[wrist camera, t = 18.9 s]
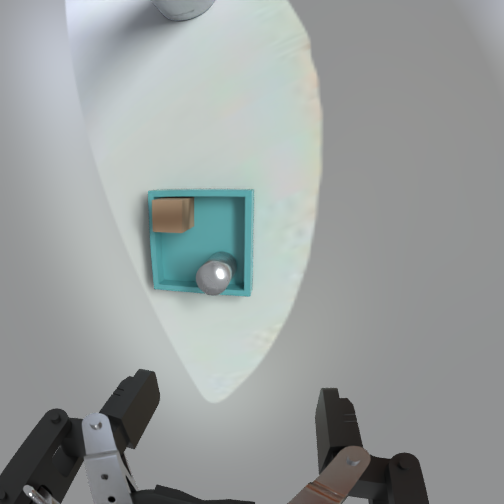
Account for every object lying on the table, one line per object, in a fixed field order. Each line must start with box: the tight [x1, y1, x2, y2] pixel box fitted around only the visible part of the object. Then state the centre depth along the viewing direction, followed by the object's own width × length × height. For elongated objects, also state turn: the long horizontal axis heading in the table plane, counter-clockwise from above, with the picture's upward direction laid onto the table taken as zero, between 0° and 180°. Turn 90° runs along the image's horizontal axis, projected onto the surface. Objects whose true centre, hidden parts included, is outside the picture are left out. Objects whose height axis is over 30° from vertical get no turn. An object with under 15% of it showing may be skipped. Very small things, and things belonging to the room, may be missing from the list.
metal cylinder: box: [196, 251, 237, 295], centre depth 37 cm, size 4×4×6 cm
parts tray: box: [148, 189, 254, 296], centre depth 39 cm, size 14×14×3 cm
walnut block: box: [152, 197, 194, 233], centre depth 36 cm, size 4×4×5 cm
